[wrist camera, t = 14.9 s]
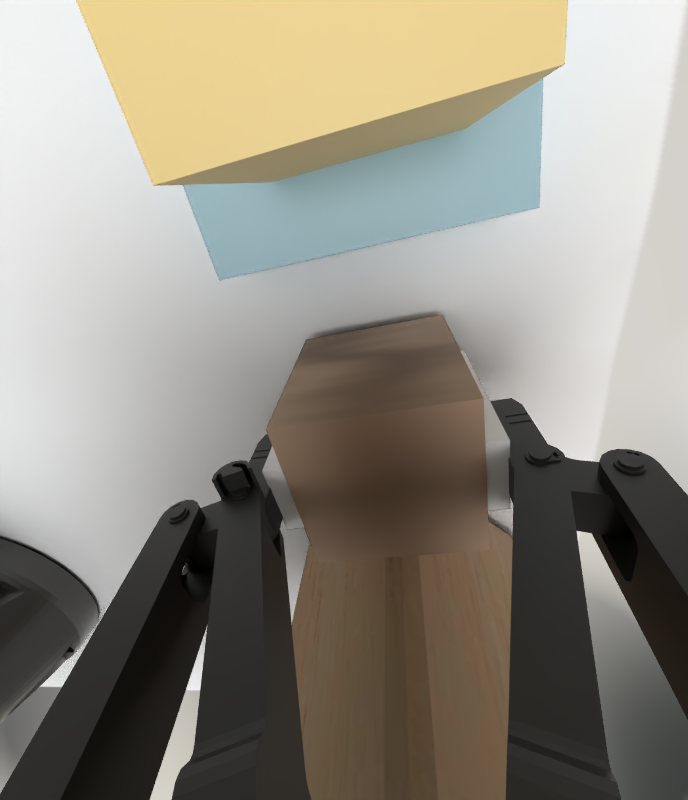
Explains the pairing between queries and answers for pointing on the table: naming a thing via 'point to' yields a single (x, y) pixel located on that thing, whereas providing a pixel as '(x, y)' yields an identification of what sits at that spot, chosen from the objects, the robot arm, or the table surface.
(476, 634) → the wooden block
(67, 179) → the table surface
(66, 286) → the table surface
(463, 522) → the brick
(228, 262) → the base brick
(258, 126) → the brick
